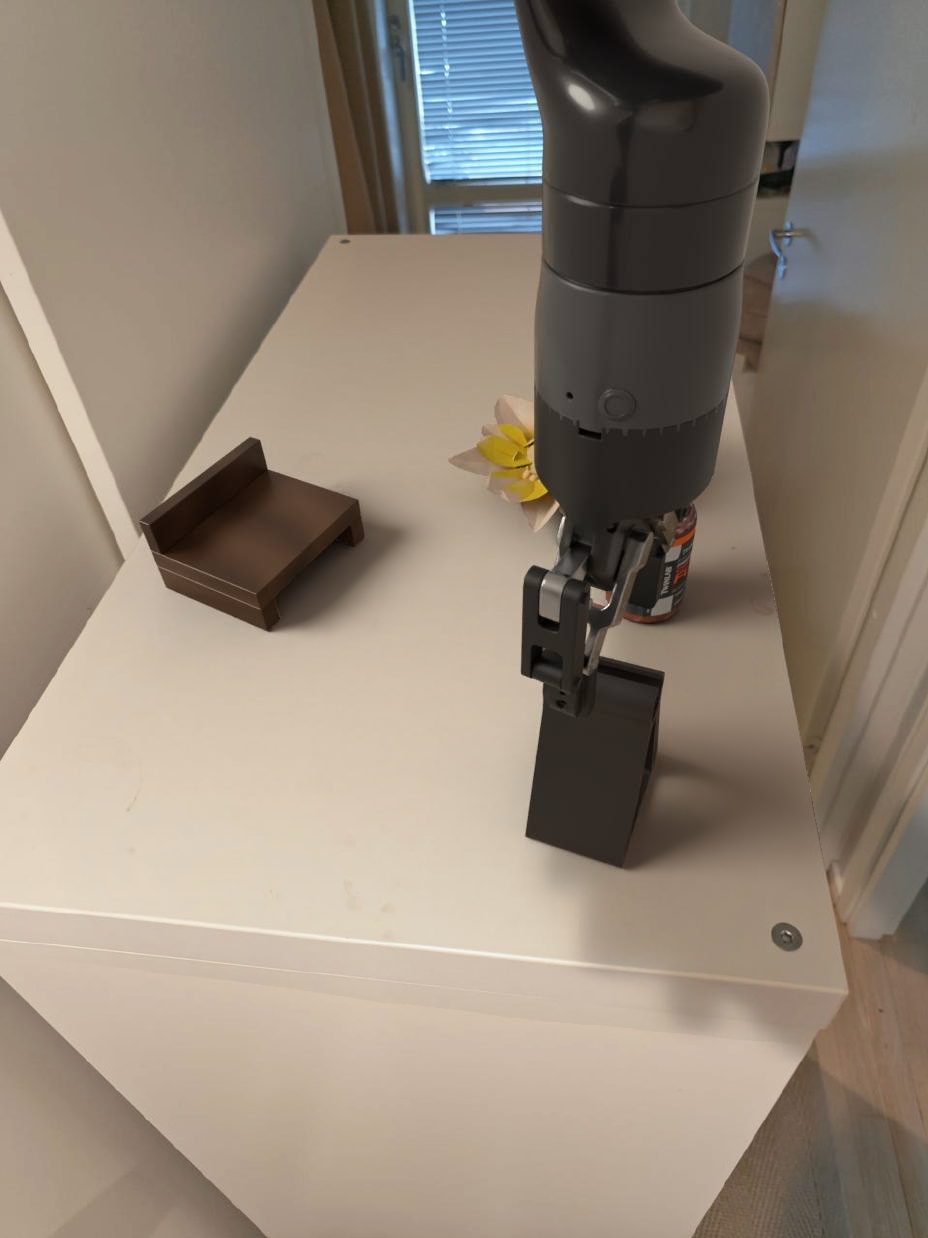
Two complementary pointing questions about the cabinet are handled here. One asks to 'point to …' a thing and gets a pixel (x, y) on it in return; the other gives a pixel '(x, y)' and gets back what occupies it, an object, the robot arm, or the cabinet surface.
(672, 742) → the cabinet surface
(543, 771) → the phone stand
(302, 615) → the cabinet surface
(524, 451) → the decorative flower
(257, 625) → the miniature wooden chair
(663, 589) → the supplement bottle
